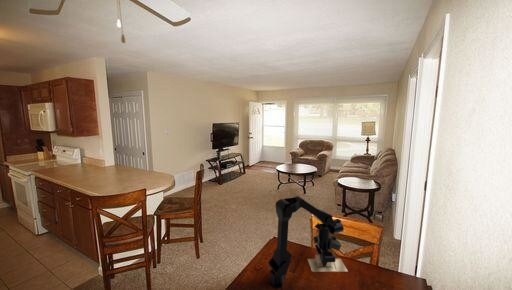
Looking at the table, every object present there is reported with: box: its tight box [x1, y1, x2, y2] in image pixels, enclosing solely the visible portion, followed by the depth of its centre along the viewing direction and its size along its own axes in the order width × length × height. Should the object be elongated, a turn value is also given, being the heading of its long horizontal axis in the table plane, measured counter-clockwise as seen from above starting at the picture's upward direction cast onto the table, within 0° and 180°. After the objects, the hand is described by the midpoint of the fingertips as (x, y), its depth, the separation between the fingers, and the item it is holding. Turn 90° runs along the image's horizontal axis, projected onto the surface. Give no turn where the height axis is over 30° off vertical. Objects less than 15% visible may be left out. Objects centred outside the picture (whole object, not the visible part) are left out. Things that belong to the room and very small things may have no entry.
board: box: [307, 258, 349, 273], centre depth 114 cm, size 18×10×1 cm, turn 90°
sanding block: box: [314, 253, 331, 267], centre depth 113 cm, size 7×4×4 cm, turn 90°
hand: (323, 263), depth 114 cm, fingers closed on sanding block, 4 cm apart
